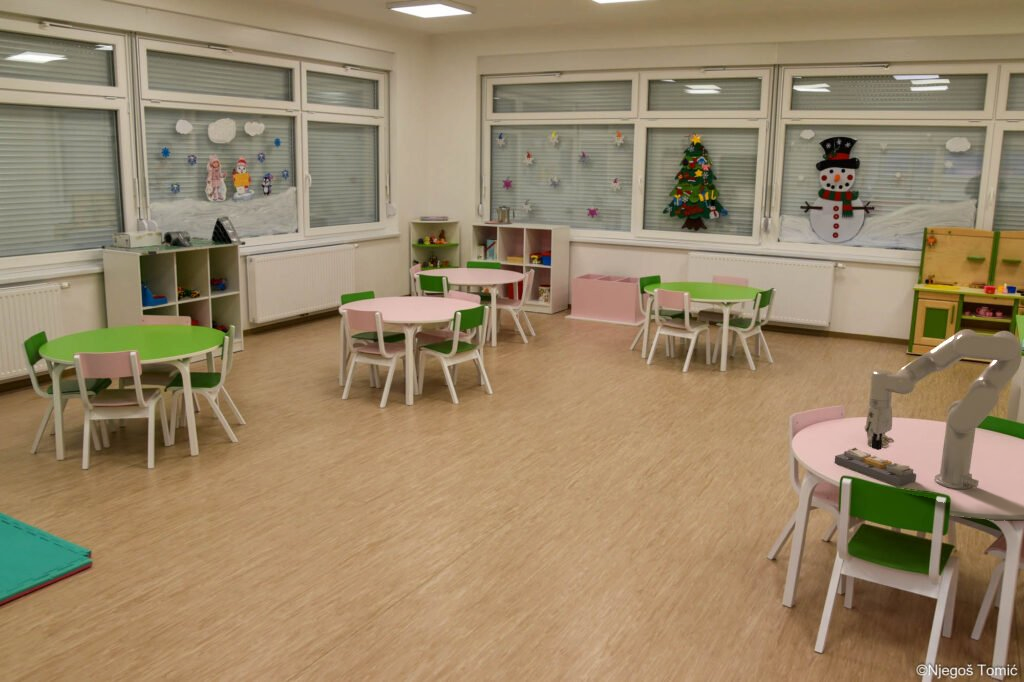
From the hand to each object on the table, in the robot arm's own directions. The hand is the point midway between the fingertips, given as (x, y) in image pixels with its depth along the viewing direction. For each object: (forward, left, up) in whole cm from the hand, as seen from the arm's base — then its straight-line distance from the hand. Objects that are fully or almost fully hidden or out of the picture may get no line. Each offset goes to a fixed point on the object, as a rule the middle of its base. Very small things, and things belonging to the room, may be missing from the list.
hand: (876, 448), depth 321 cm
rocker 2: (-10, 0, -4) cm, 11 cm away
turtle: (+19, -30, -9) cm, 37 cm away
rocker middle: (-1, 0, -4) cm, 4 cm away
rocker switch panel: (-1, +2, -9) cm, 9 cm away
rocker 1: (+8, 0, -4) cm, 9 cm away
